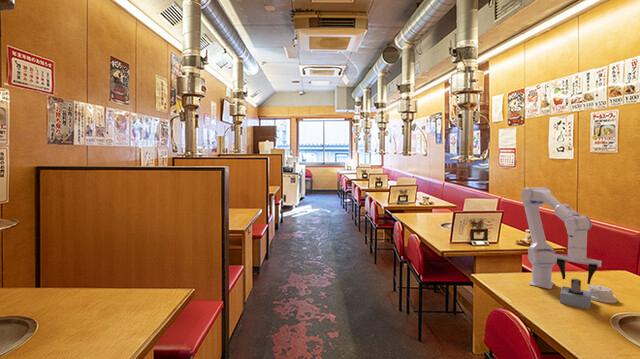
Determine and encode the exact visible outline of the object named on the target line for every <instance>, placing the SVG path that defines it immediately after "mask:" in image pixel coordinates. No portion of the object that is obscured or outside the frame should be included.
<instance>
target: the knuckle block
mask: <svg viewBox="0 0 640 359" xmlns="http://www.w3.org/2000/svg"><path fill="white" fill-rule="evenodd" d="M559 303H560V304H564V305H568V306H571V307H572V306H573V307H576V308H582V309H586V310H590V309H591V304H592V299H591V292H590V291H587V290H585V289H581V295H577V294H573V293H571V286H570V287H569V286H564V285H562V288H561V290H560V293H559Z"/></svg>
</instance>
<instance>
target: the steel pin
mask: <svg viewBox="0 0 640 359" xmlns="http://www.w3.org/2000/svg"><path fill="white" fill-rule="evenodd" d="M581 284H582V279H579V278H571V280H570V288H571V293H573V294H577V295H581V290H582V289H581V288H582V285H581Z"/></svg>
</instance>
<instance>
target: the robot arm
mask: <svg viewBox="0 0 640 359" xmlns="http://www.w3.org/2000/svg"><path fill="white" fill-rule="evenodd" d="M520 196H521V202H522V205H523V206H524V207H523V208H524V211H525V216H526V221H527V225H528V229H529V233H530V238H531V242H532V244H531V245H530V246H528V247H527V253H528V254H527V259H528V261H529V263H530V265H532V268H531V272H532V273H531V281H530V282H529V285H530V286H533V287H538V288H539V287H540V288H544V289H549V290H551V289H552V288H553V286H554V284H555V282H554V281H552V273H553V272H552V271H553V269H552V268H553V267H554V265H555V264H557V266H558V268H559V270H560V274H561V278H562V280H566V263H567V262H569V263H576V264H581V265H582V264H583V265H588V268H587V269H588V271H587V274H588V275H587V276H588V277H587V285H591V280H592V278H593V276H594V274H595V272H596V271H597V269H598V268H602V260H597V259H594V258H593V259H592V258H588V257H587V252H588V251H587V248H588V246H587V245H588V231H590V230H591V228H592V226H593V224H592V220H591V219H590V218H589V216H587V215H582V214H579V212H578V211H576V210H574V209H573V208H572V207H571V205H570V204H565V203H563V204H562V202H560V201H559V200H558V199H557V198H556V197H555V196H554V195H553V194H552V191H551V190H550V189H549V188H548V187H546V186H542V187H541V186H539V187H537V186H536V187H534V186H533V187H528V186H526V187H523V189H522V191H521V193H520ZM544 204H546V205H547V206H549V207H550V208H551V209H553V212H554V215H555V216H557V217H558V219H560V220H561V221H562V222H563V223H564V226H565V228H566V233H567V254H558V253H556V251H554V250H555V249H554V246H552V245H550V244H549V243H548V242H547V239H546V235H545V231H544V227H543V222H542V218H541V214H540V207H542V206H543V205H544Z"/></svg>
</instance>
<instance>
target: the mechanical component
mask: <svg viewBox="0 0 640 359" xmlns="http://www.w3.org/2000/svg"><path fill="white" fill-rule="evenodd" d="M586 291H590V292H591V301H592V300H593V301H595V302H600V303H606V304H615V303H617V302H618V298H617V297H616V296H615V295H614V290H613V289H611V288H610V287H606V286H604V285H598V284H596V285H595V284H592V285H591V284H588V289H587V290H586Z"/></svg>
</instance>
